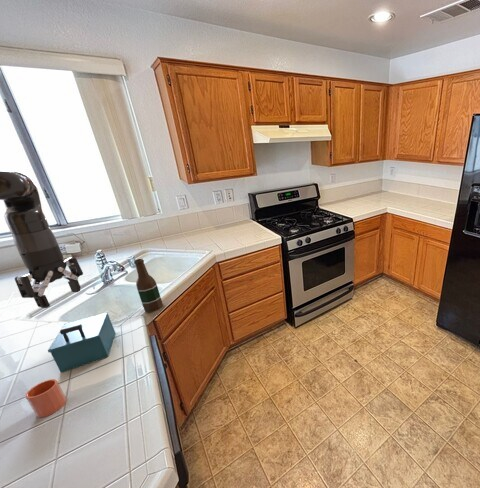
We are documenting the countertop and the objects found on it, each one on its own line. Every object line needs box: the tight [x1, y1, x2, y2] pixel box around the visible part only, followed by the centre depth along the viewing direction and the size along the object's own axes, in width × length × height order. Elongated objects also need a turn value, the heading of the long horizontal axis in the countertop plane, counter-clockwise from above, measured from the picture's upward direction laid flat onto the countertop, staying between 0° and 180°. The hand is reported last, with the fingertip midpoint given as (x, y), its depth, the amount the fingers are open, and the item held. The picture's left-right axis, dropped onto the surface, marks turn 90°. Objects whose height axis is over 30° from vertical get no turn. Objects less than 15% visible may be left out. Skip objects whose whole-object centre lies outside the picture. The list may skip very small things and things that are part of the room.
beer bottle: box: [133, 258, 163, 313], centre depth 117 cm, size 8×8×24 cm
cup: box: [25, 378, 67, 418], centre depth 72 cm, size 6×6×7 cm
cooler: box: [50, 314, 116, 373], centre depth 94 cm, size 16×13×9 cm
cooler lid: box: [47, 312, 109, 353], centre depth 91 cm, size 16×13×5 cm
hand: (61, 299), depth 76 cm, fingers open, 8 cm apart
